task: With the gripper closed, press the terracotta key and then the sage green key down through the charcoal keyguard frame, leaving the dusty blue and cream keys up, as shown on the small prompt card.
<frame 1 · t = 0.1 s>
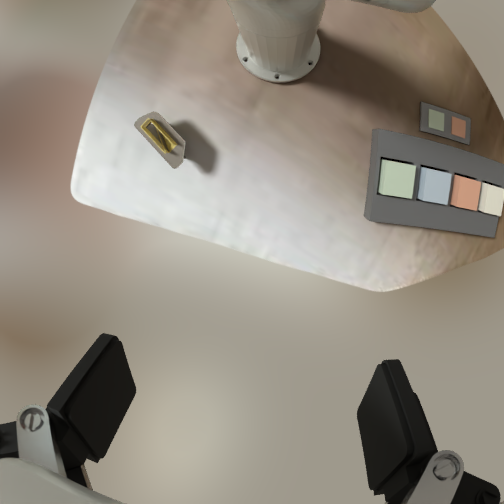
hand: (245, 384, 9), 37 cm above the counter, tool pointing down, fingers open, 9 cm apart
keyguard frame: (440, 185, 39), on the counter
terracotta key: (464, 192, 36), point 3 cm above the counter, slide at 0.0 cm
platform: (174, 137, 42), on the counter
prompt card: (446, 123, 35), on the counter
blue key: (433, 185, 37), point 3 cm above the counter, slide at 0.0 cm
cream key: (490, 199, 36), point 3 cm above the counter, slide at 0.0 cm
sage key: (396, 178, 37), point 3 cm above the counter, slide at 0.0 cm
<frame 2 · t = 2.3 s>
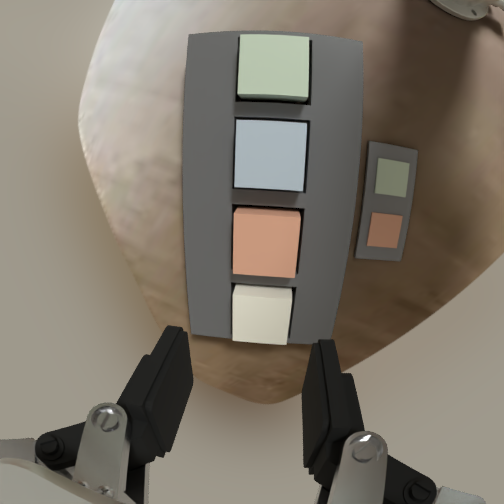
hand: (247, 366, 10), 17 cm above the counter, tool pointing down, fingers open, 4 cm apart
keyguard frame: (269, 192, 25), on the counter
terracotta key: (266, 241, 23), point 3 cm above the counter, slide at 0.0 cm
prompt card: (386, 203, 24), on the counter
blue key: (270, 154, 21), point 3 cm above the counter, slide at 0.0 cm
cream key: (261, 313, 26), point 3 cm above the counter, slide at 0.0 cm
sage key: (274, 68, 18), point 3 cm above the counter, slide at 0.0 cm
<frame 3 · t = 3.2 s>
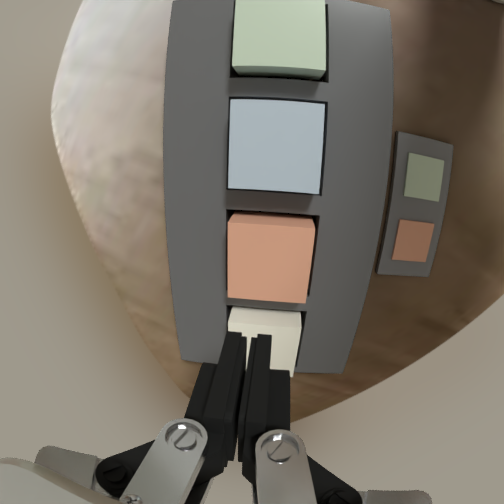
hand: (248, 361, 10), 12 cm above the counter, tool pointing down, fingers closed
keyguard frame: (274, 193, 20), on the counter
terracotta key: (270, 256, 18), point 3 cm above the counter, slide at 0.0 cm
prompt card: (416, 208, 19), on the counter
blue key: (276, 144, 16), point 3 cm above the counter, slide at 0.0 cm
cream key: (263, 340, 21), point 3 cm above the counter, slide at 0.0 cm
sage key: (280, 35, 13), point 3 cm above the counter, slide at 0.0 cm
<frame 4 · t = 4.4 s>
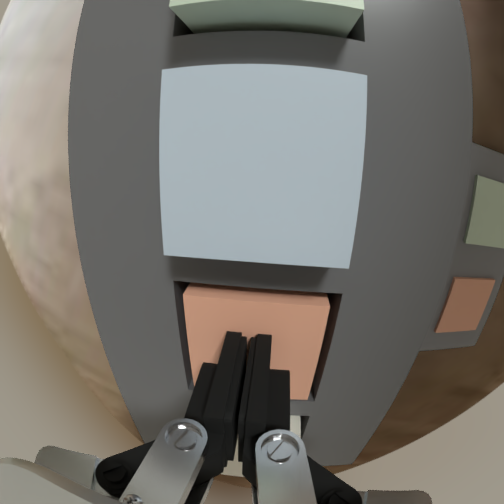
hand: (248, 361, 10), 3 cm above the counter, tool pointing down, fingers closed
keyguard frame: (263, 240, 12), on the counter
terracotta key: (255, 335, 12), point 2 cm above the counter, slide at 1.3 cm, touching gripper
prompt card: (475, 257, 11), on the counter
blue key: (262, 160, 8), point 3 cm above the counter, slide at 0.0 cm
cream key: (247, 442, 13), point 3 cm above the counter, slide at 0.0 cm
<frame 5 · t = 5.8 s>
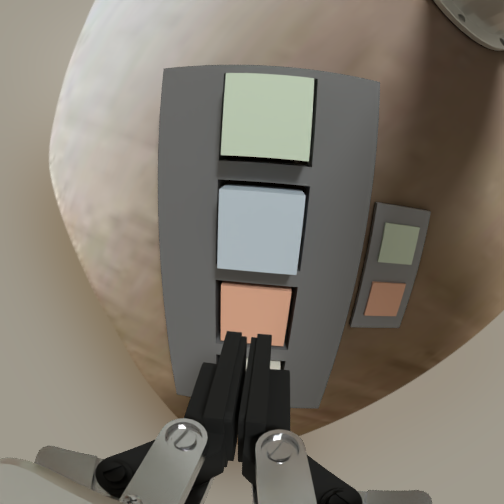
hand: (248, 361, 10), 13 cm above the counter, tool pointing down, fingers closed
keyguard frame: (259, 259, 22), on the counter
terracotta key: (255, 308, 22), point 2 cm above the counter, slide at 1.5 cm
prompt card: (389, 270, 22), on the counter
blue key: (260, 227, 18), point 3 cm above the counter, slide at 0.0 cm
cream key: (248, 382, 23), point 3 cm above the counter, slide at 0.0 cm
sage key: (268, 117, 16), point 3 cm above the counter, slide at 0.0 cm
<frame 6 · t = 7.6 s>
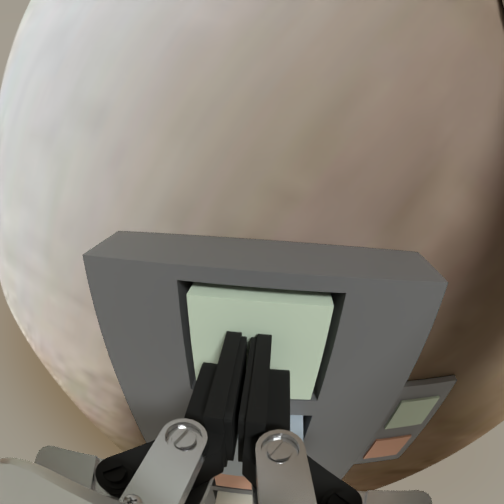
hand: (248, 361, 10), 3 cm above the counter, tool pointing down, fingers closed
keyguard frame: (253, 428, 17), on the counter
terracotta key: (249, 465, 17), point 2 cm above the counter, slide at 1.5 cm
prompt card: (397, 426, 16), on the counter
blue key: (250, 441, 13), point 3 cm above the counter, slide at 0.0 cm
cream key: (245, 503, 18), point 3 cm above the counter, slide at 0.0 cm
sage key: (259, 334, 12), point 2 cm above the counter, slide at 1.3 cm
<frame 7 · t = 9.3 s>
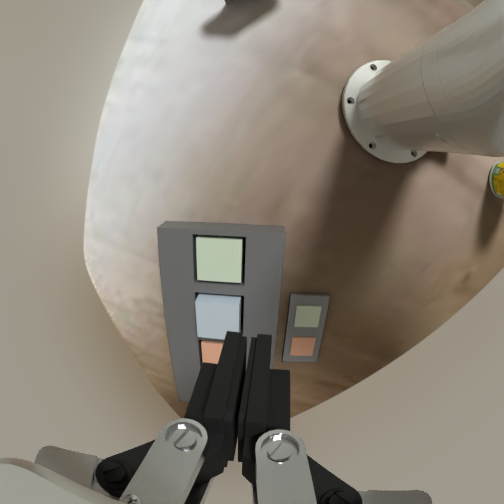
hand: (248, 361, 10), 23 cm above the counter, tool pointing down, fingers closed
keyguard frame: (223, 325, 38), on the counter
terracotta key: (222, 352, 37), point 2 cm above the counter, slide at 1.5 cm
supplement bottle: (498, 179, 28), on the counter
prompt card: (304, 329, 37), on the counter
blue key: (219, 315, 33), point 3 cm above the counter, slide at 0.0 cm
sage key: (220, 256, 32), point 2 cm above the counter, slide at 1.5 cm
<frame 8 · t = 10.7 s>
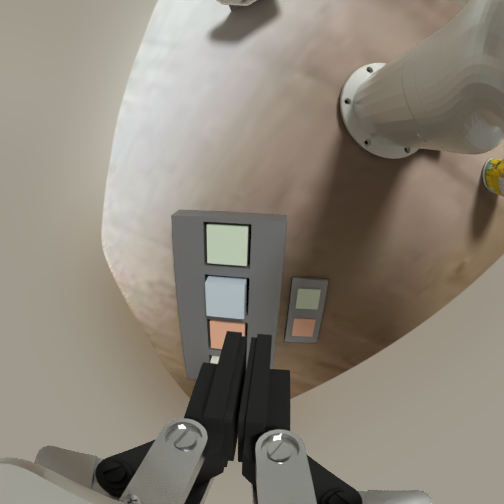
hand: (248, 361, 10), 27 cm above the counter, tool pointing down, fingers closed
keyguard frame: (230, 306, 41), on the counter
terracotta key: (228, 331, 41), point 2 cm above the counter, slide at 1.5 cm
supplement bottle: (491, 174, 30), on the counter
platform: (259, 1, 26), on the counter
prompt card: (305, 311, 41), on the counter
blue key: (226, 296, 37), point 3 cm above the counter, slide at 0.0 cm
cream key: (227, 370, 42), point 3 cm above the counter, slide at 0.0 cm
sage key: (228, 242, 36), point 2 cm above the counter, slide at 1.5 cm
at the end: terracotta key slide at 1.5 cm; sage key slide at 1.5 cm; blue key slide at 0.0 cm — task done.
